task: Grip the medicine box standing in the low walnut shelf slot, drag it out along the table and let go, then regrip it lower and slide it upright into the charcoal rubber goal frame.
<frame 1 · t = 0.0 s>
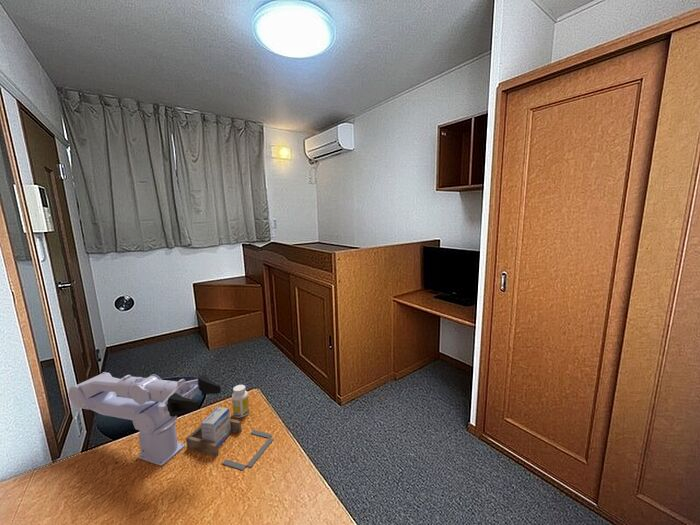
hand: (208, 397, 79), 22 cm above the table, tool horizontal, fingers open, 7 cm apart
supplement bottle: (241, 413, 106), on the table
medicine box: (217, 440, 93), on the table
walnut shelf: (215, 439, 94), on the table
goal frame: (248, 448, 90), on the table
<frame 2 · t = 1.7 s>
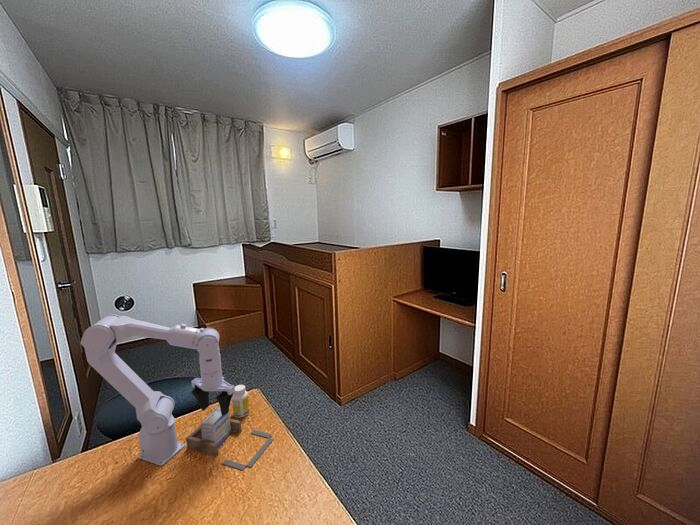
hand: (215, 411, 92), 10 cm above the table, tool pointing down, fingers open, 7 cm apart
nothing on the table moved.
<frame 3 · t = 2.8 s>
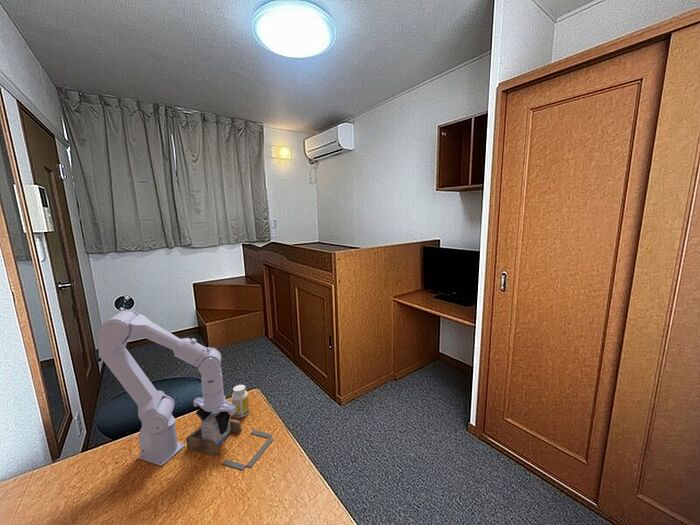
hand: (216, 430, 93), 3 cm above the table, tool pointing down, fingers closed on medicine box, 5 cm apart
medicine box: (217, 440, 93), on the table, touching gripper
everything else where it was.
when the fingers open (3 cm above the table, at t = 3.5 s): medicine box moves 2 cm, on the table.
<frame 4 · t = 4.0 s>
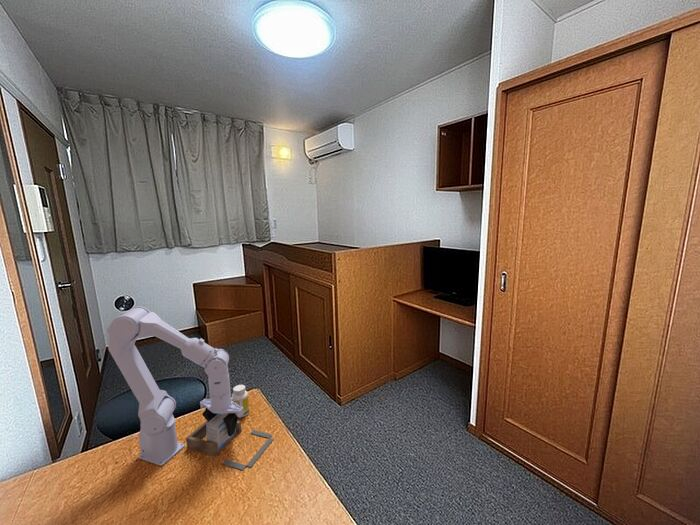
hand: (223, 432, 92), 3 cm above the table, tool pointing down, fingers open, 5 cm apart
medicine box: (221, 441, 93), on the table, touching gripper
everything else where it was.
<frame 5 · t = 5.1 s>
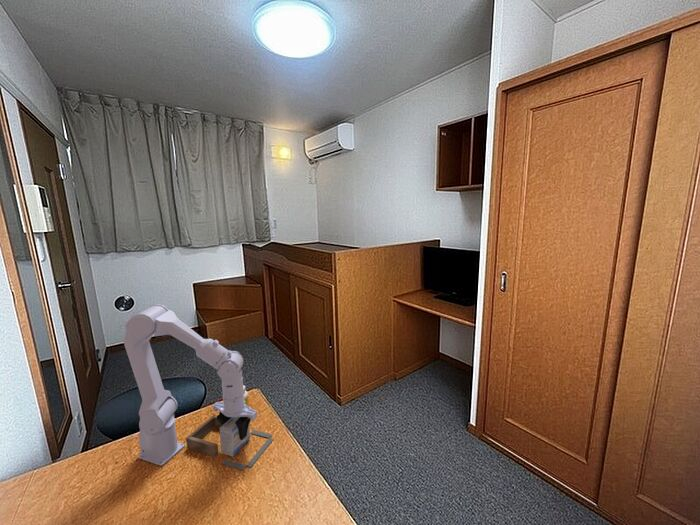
hand: (236, 435, 90), 3 cm above the table, tool pointing down, fingers closed on medicine box, 4 cm apart
medicine box: (235, 446, 91), on the table, touching gripper
everything else where it was.
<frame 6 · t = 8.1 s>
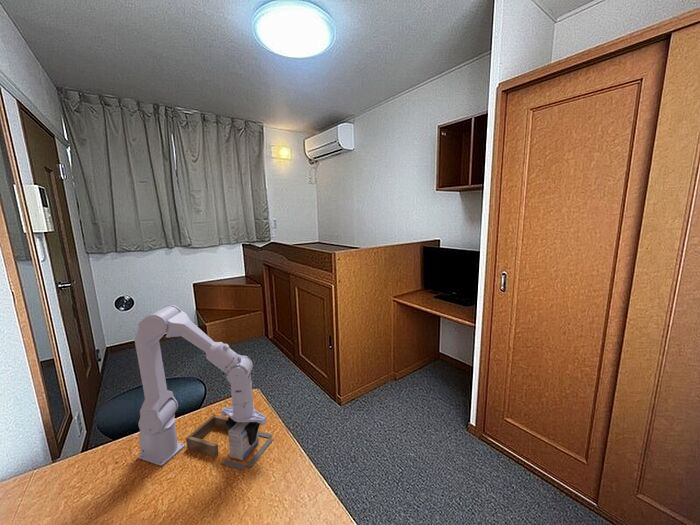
hand: (245, 440, 90), 2 cm above the table, tool pointing down, fingers closed on medicine box, 4 cm apart
medicine box: (244, 449, 90), on the table, touching gripper
everything else where it was.
when the fingers open (2 cm above the table, at t = 8.8 s): medicine box stays where it is, on the table.
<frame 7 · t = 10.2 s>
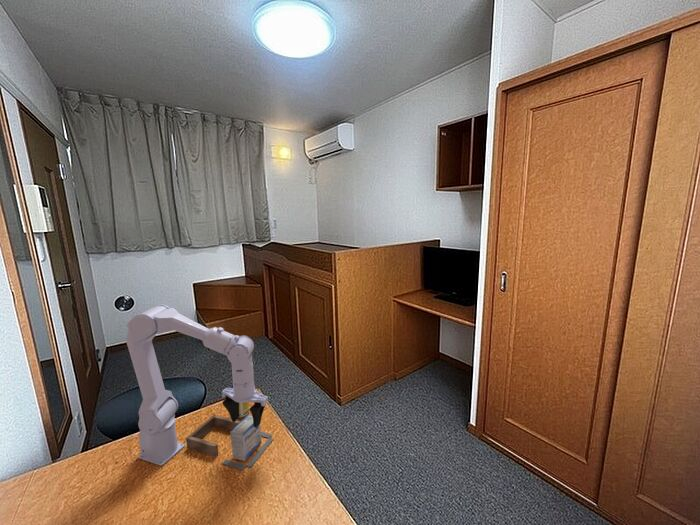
hand: (246, 422, 88), 9 cm above the table, tool pointing down, fingers open, 7 cm apart
medicine box: (247, 450, 89), on the table
everything else where it was.
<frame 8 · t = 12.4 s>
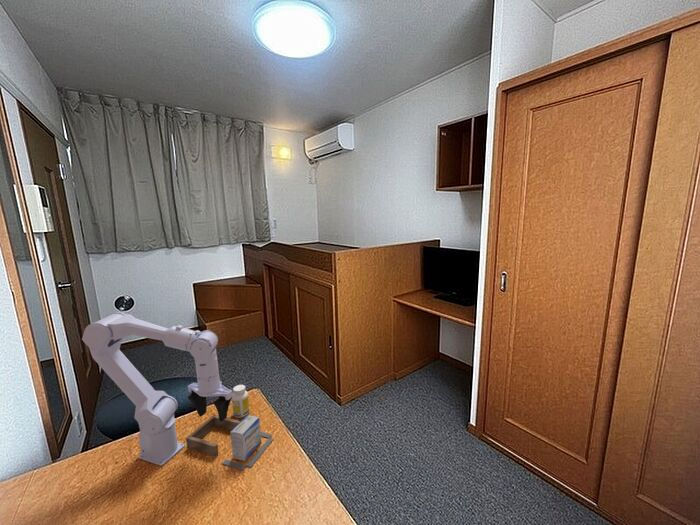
hand: (213, 416, 88), 10 cm above the table, tool pointing down, fingers open, 7 cm apart
nothing on the table moved.
at the end: medicine box 0.5 cm off-centre on the goal frame, point 0.0 cm above the goal frame's base; medicine box tilted 0°; the gripper is holding nothing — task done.
